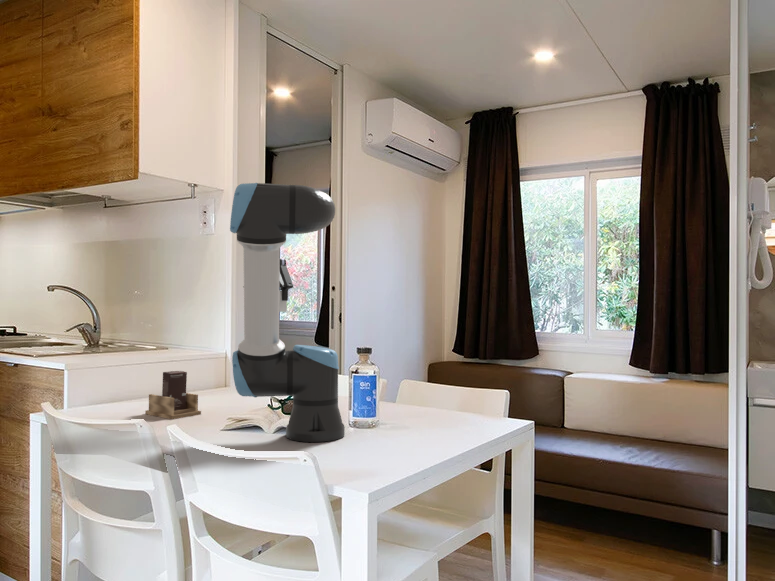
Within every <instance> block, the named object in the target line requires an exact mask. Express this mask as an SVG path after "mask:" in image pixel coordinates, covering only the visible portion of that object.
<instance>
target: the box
mask: <svg viewBox="0 0 775 581" xmlns="http://www.w3.org/2000/svg"><path fill="white" fill-rule="evenodd" d="M187 375H188V372H187V371H183V370H174V371H173V370H172V371H171V370H170V371H162V392H161V396H165V397H171V398H174V411H177V410H183V409H185V408H186V393H187V380H188V379H187V377H188V376H187Z"/></svg>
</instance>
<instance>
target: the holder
mask: <svg viewBox="0 0 775 581" xmlns="http://www.w3.org/2000/svg"><path fill="white" fill-rule="evenodd" d="M198 408H199V394H197V393H191V392H190V393H189V392H186V408H185V409H183V410H177V411H174V398H171V397H165V396H162V395H160V394H159V395H158V394H153V393H151V394H148V409H147V410H145V415H149V416H155V417H159V418H164V419H169V420H176V419H177V420H178V419H182V418H188V417H193V416H199V415H200V416H201V415H202V410H199V409H198Z"/></svg>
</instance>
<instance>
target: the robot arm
mask: <svg viewBox="0 0 775 581" xmlns="http://www.w3.org/2000/svg"><path fill="white" fill-rule="evenodd" d="M230 212H231V213H230V220H229V221H230V222H229V223H230V224H229V225H230V226H229V231H230V232H231V233H232V234H236V242H238V244H240V245H241V247H242V250H243V286H242V287H243V325H244V326H243V329H244V330H243V332H244V334H243V336H244V338H243V340H242V341H240V343H239V344H238V346H237V347H238V349H237V350H234V351H233V352H232V355H231V356H232V360H231V362H232V376H233V382H234V386H235V390H236V392H237V394H238V395H240V396H241V397H250V398H251V397H252V398H261V397H263V398H264V397H265V398H266V397H286V396H287V397H292V399H293V400H292V409H291V412H290V414H289V415H290V416H289V420H288V424H287V425H286V428H285V437H286V439H289V440H291V441H296V442H302V443H303V442H304V443H318V442H319V443H320V442H321V443H322V442H331V441H335V440H340V439H342V438H343V437H344V436H345V428H346V427H345V424H344V423H343V420H342V419H343V418H342V415H341V411H340V408H339V370H340V367H339V356H338V353H337V351H335V350H334V349H331V348H329V347H328V348H327V347H323V346H315V345H306V344H295V345H293V347H292V350H286V345H285V342H283V341H282V340H281V339H280V312H286V313H287V309H288V308H287V306H288V305H287V304H288V300H289V290H291V289H294V285H293V281H292V278H291V276H290V273H289V270H288V267H287V259H286V258H280V257H281V247H282V246H283V245H285V243H286V242H287V235H302V234H310V233H314V232H317V231H320V230H323V229H325V228H326V227H328V226H330V224H331V223H332V222H333V221H334V219H335V215H336V205H335V203H334V200H333V199H332V197H331V196H330V195H328V193H326V192H325V191H322V190H320V189H318V188H315V187H312V186H308V185H304V184H303V185H302V184H279V183H264V182H263V183H262V182H261V183H260V182H252V183H251V182H249V183H248V182H247V183H245V182H244V183H241V184H238V186H236V188H235V190H234V194H233V199H232V205H231V211H230Z"/></svg>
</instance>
